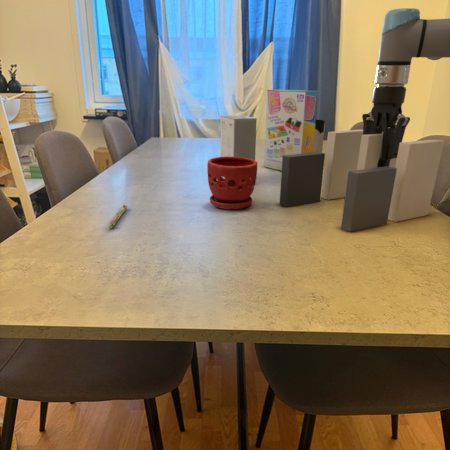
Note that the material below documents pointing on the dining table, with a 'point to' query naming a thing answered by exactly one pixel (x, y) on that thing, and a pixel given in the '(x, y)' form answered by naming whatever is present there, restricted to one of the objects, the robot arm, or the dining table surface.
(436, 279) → the dining table surface
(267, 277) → the dining table surface
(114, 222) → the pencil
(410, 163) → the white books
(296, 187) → the grey books
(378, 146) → the white book
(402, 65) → the robot arm
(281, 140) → the game box
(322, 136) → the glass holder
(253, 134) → the hard drive box
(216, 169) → the flower pot
